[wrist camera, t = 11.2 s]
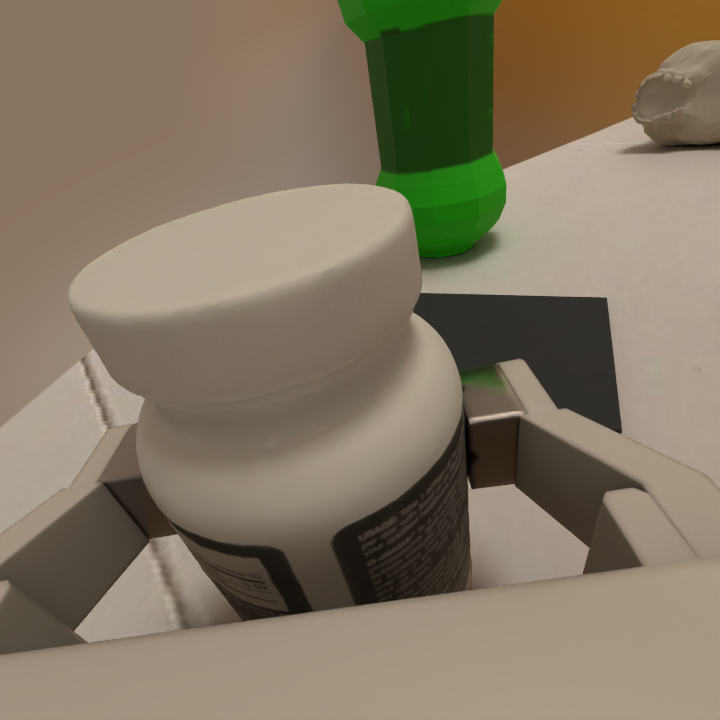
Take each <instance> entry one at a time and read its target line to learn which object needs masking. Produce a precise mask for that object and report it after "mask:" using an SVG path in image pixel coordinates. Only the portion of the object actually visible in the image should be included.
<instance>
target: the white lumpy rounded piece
mask: <svg viewBox="0 0 720 720" xmlns="http://www.w3.org/2000/svg"><path fill="white" fill-rule="evenodd" d="M635 99H637V101H636V102H635V103H634V104H633V106H632V111H633V112H634V113H633V118H634V119H635V120H636V122H637V123H638V124H642V125H643V127H644V132H645V134H647V135H648V136H649V137H650V138H651V139H652V140H653V141H655V142H657V143H659V144H662V145H687V144H697V145H706V144H717V143H720V41H704V42H696V43H693V44H690V45H688V46H686V47H684V48H682V49H680V50H678V51H677V52H676V53H674V54H673V55H671V56H670V57H669V58H667V59H666V60H665V61H664V62H663V63H662V64H661V65H660V67H659V69H658V71H657V72H655V73H654V74H652V75H650V76H648V77H647V78H646V79H644V80H643V81H642V83H641V85H640V86H639V90H638V91H637V92H636V93H635Z"/></svg>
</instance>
